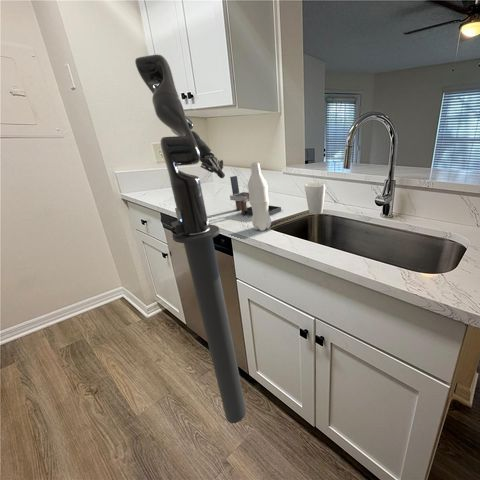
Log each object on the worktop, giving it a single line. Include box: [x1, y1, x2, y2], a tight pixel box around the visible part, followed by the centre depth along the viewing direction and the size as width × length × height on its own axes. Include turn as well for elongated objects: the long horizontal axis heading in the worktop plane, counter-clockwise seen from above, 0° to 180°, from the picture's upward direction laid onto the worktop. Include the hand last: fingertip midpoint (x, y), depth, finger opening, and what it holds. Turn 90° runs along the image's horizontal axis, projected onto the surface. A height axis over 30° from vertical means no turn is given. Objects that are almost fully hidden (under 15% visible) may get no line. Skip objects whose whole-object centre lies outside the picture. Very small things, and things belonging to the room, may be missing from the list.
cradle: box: [234, 200, 248, 216], centre depth 126 cm, size 10×15×7 cm
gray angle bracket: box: [229, 175, 250, 204], centre depth 124 cm, size 12×12×11 cm
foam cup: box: [304, 182, 326, 216], centre depth 119 cm, size 10×9×13 cm
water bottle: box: [247, 162, 272, 232], centre depth 98 cm, size 7×7×25 cm
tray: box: [240, 205, 282, 217], centre depth 123 cm, size 14×12×2 cm
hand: (223, 177), depth 128 cm, fingers closed
